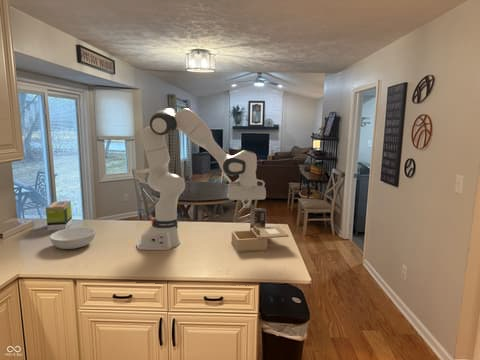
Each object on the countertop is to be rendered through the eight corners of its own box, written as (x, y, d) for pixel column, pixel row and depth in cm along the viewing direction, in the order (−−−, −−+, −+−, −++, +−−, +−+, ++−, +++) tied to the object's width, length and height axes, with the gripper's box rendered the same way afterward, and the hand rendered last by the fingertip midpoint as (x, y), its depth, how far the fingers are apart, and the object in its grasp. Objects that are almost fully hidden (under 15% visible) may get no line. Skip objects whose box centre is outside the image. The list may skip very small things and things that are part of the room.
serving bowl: (75, 236, 177) (74, 225, 176) (104, 242, 170) (104, 230, 169) (40, 249, 157) (39, 236, 156) (72, 256, 151) (72, 242, 150)
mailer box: (237, 253, 160) (237, 239, 159) (231, 243, 174) (231, 231, 172) (266, 251, 164) (267, 238, 163) (259, 241, 177) (259, 229, 176)
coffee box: (265, 234, 190) (266, 208, 187) (264, 237, 184) (266, 211, 181) (250, 233, 191) (251, 207, 188) (249, 236, 185) (250, 210, 182)
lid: (257, 238, 161) (257, 232, 160) (249, 229, 175) (250, 223, 175) (288, 236, 165) (288, 230, 164) (278, 227, 179) (278, 222, 179)
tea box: (55, 223, 198) (53, 200, 196) (72, 223, 201) (71, 200, 198) (47, 231, 184) (45, 206, 182) (66, 230, 187) (64, 206, 184)
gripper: (229, 182, 157) (228, 209, 159) (267, 182, 162) (266, 208, 164) (226, 180, 163) (225, 206, 165) (263, 180, 168) (262, 206, 170)
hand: (246, 207), depth 165 cm, fingers closed
